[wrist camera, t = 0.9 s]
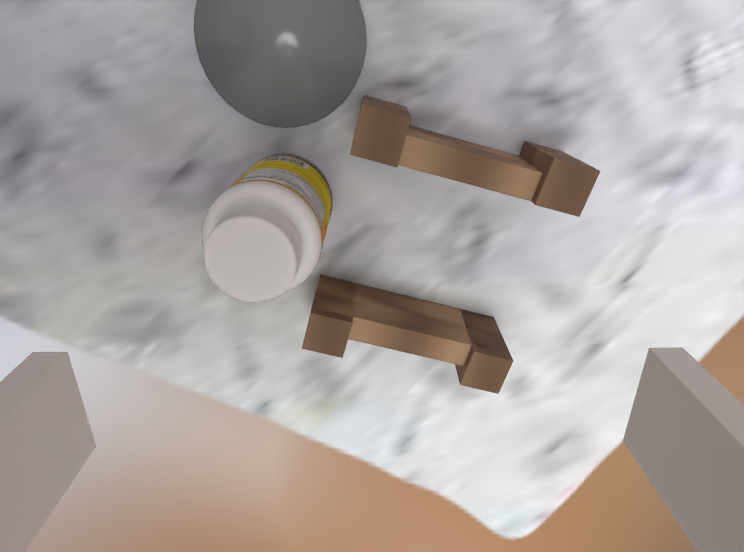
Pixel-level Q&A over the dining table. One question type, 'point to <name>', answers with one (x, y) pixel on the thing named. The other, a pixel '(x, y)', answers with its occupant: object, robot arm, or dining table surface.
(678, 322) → the dining table surface
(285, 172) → the supplement bottle
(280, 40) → the slate coaster
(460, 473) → the dining table surface
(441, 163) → the walnut channel
